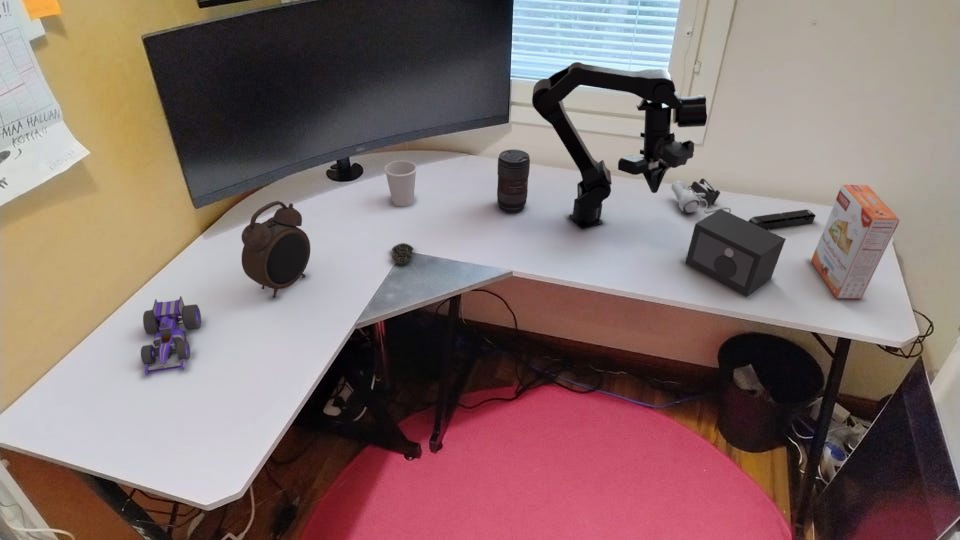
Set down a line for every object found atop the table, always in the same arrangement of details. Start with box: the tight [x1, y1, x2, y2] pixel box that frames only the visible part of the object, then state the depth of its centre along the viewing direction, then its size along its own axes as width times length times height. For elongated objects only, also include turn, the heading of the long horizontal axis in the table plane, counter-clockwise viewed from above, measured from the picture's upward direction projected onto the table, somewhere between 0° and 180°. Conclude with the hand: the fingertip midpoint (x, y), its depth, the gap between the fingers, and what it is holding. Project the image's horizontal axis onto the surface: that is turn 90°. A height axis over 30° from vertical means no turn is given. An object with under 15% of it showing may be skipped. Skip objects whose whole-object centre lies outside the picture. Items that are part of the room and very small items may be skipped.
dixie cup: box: [384, 159, 418, 207], centre depth 162 cm, size 8×8×10 cm
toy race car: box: [140, 295, 202, 376], centre depth 118 cm, size 10×15×6 cm, turn 13°
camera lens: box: [496, 149, 531, 214], centre depth 159 cm, size 8×8×15 cm
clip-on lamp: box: [670, 178, 732, 214], centre depth 161 cm, size 12×6×18 cm
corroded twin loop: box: [391, 242, 414, 265], centre depth 144 cm, size 5×8×1 cm, turn 3°
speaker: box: [684, 208, 786, 297], centre depth 138 cm, size 16×10×11 cm, turn 40°
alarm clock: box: [241, 200, 311, 299], centre depth 130 cm, size 15×7×20 cm, turn 148°
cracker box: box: [810, 184, 901, 300], centre depth 133 cm, size 14×6×21 cm, turn 178°
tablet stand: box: [747, 209, 817, 231], centre depth 157 cm, size 18×3×3 cm, turn 104°
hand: (654, 192), depth 148 cm, fingers closed
